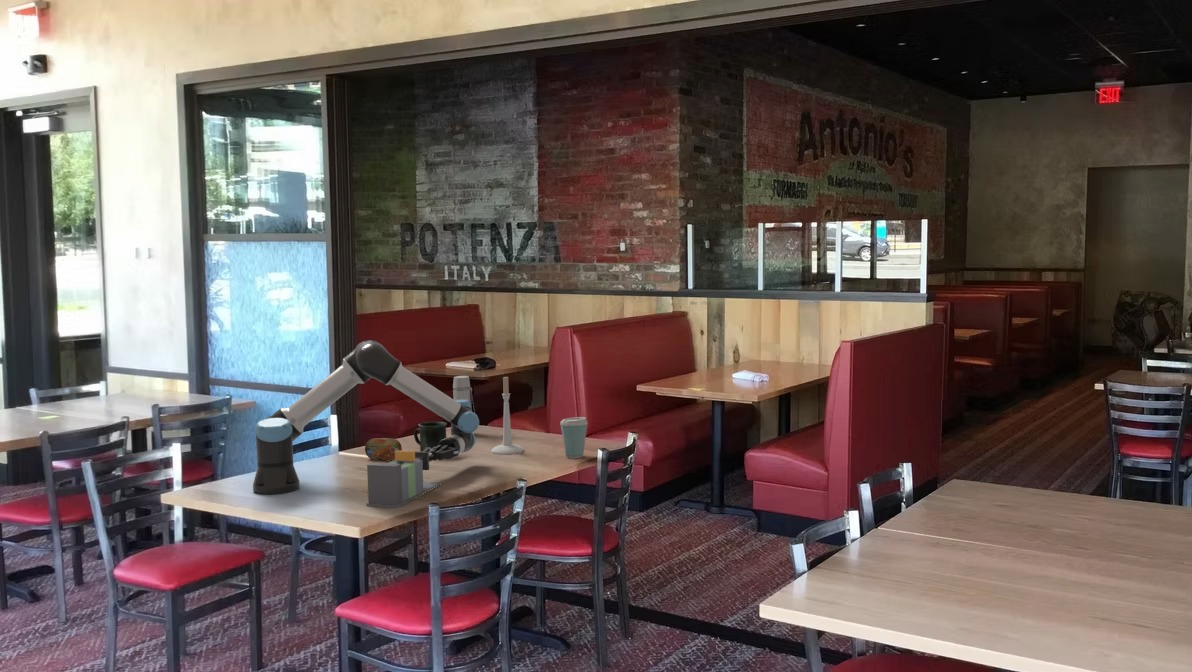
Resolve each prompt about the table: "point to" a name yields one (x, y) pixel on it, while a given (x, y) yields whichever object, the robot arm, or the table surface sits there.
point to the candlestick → (506, 427)
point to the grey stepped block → (396, 483)
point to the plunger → (421, 456)
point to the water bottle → (462, 388)
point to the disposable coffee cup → (574, 436)
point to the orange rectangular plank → (405, 455)
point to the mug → (430, 434)
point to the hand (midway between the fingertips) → (421, 460)
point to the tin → (382, 448)
